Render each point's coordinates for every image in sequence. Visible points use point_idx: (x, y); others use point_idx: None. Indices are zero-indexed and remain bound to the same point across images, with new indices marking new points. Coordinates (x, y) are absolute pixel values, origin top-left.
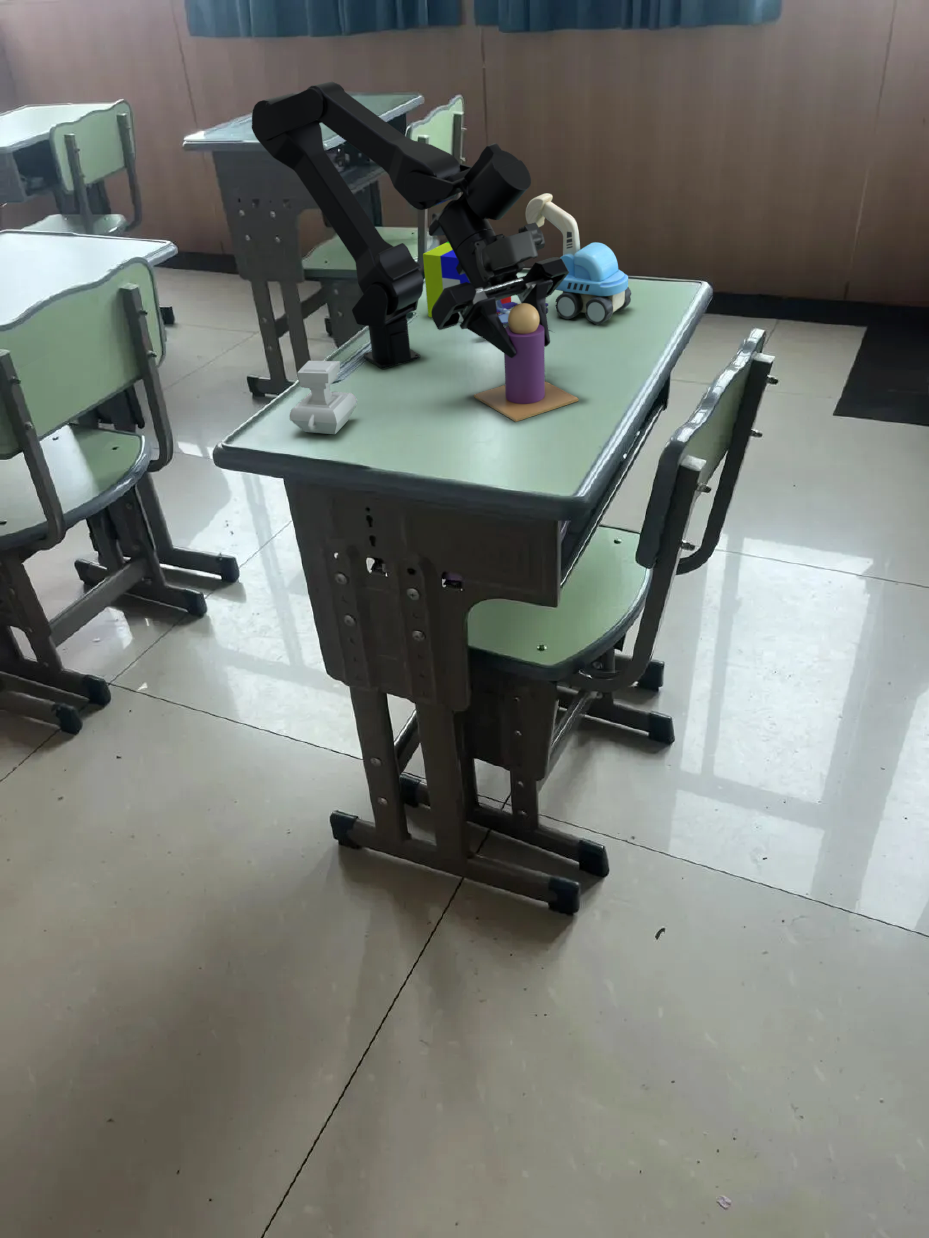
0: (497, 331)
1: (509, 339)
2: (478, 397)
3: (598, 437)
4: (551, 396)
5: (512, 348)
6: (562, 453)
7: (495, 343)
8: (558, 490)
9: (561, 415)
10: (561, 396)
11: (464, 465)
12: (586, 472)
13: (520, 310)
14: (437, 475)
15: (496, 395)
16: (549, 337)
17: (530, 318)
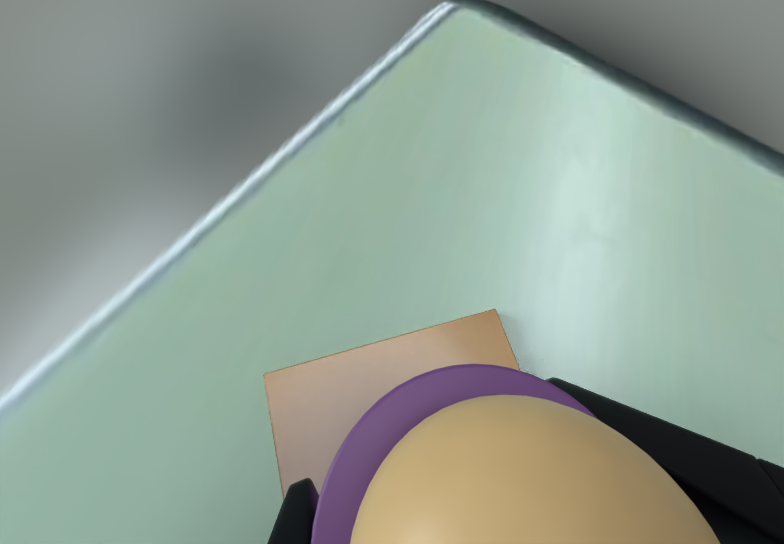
0: (765, 467)
1: (616, 428)
2: None
3: (322, 159)
4: (338, 427)
5: (573, 392)
6: (427, 126)
7: None
8: (478, 25)
9: (355, 302)
10: (307, 412)
11: (643, 155)
12: (409, 54)
13: (659, 507)
14: (701, 139)
15: None
16: (281, 508)
17: (496, 409)
